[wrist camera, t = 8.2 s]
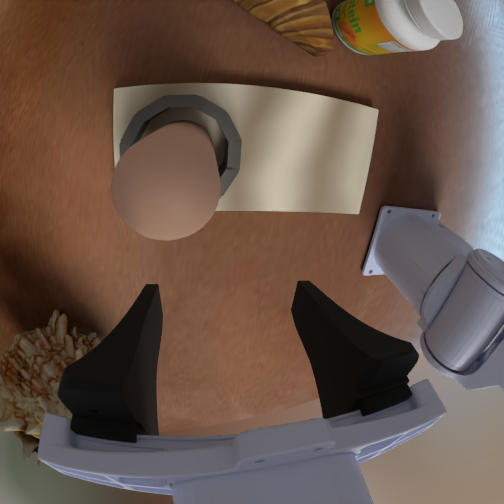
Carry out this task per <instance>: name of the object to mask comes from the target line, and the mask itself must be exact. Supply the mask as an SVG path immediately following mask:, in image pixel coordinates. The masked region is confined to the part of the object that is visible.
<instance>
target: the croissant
mask: <svg viewBox="0 0 504 504" xmlns="http://www.w3.org/2000/svg"><path fill="white" fill-rule="evenodd" d="M234 2H236V3H237V4H238V5H240V6H241V7H242V8H244V9H245V10H246V11H248V12H249V13H250V14H251V15H253V16H254V17H256V18H258V19H261V20H263V21H265V22H267V23H268V24H269V25H270V26H271V27H272V28H273V29H274V30H275V32H276V33H278V34H280V35H282V36H283V37H285V38H287V39H288V40H290V41H292V42H293V43H295V44H296V45H298V46H299V47H301V48H302V49H304V50H305V51H307V52H308V53H310V54H311V55H313V56H316V57H317V56H322V55H326V54H327V53H328V52H329V51H330V50H331V49H332V48H333V47H334V46H333V27H332V23H331V19H330V15H329V11H328V7H327V4H326V2H325V0H234Z"/></svg>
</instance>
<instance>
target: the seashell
mask: <svg viewBox="0 0 504 504" xmlns="http://www.w3.org/2000/svg"><path fill="white" fill-rule="evenodd" d="M100 342H101V340H100V339H99V338H97V332H93V333H91V334H89V335H84V334H80V333H78V332H77V329H76V327H72V328H67V317H66V315H65V313H63V314H62V315H61V316H60V313H59V310H56V309H55V310H54V312H53V315H52V316H51V317H50V320H49V323H48V326H47V327H44V328H41V329H40V328H36V329H34V330H33V331H27V332H24V333H19V334H16V335H15V336H14V342H13V343H12V345H11V346H10V348H9V349H8V351H4V352H3V355H2V357H1V358H0V428H1V429H2V430H3V431H14V433H15V436H16V437H17V438H18V439H19V440H20V441H21V442H23V460H24V461H27V460H28V459H29V457H30V455H31V453H33V452H35V451H36V452H37V454H38V448H39V442H40V436H41V430H42V425H43V420H44V416H45V413H50V414H54V415H58V416H63V417H66V418H68V419H70V420H72V413H71V412H70V411H69V410H68V409H67V408H66V406H65V405H64V404H63V403H62V402H61V400H60V399H59V397H58V394H57V392H58V388H59V384H60V380H61V377H62V374H63V372H64V369H65V367H67V366H69V365H70V364H72V363H74V362H75V361H77V360H78V359H80V358H81V357H83V356H84V355H86V354H87V353H88V352H90V351H91V350H92V349H93V348H95V347H96V346H97V345H98V344H99V343H100ZM41 463H42V461H40V460H39V459H38V465H39V466H40V465H41Z"/></svg>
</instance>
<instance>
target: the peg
mask: <svg viewBox="0 0 504 504" xmlns="http://www.w3.org/2000/svg"><path fill="white" fill-rule="evenodd" d="M111 191H112V198H113V202H114V205H115V208H116V210H117V212H118V214H119V215H120V217H121V218H122V220H123V221H124V222H125V223H126V224H127V225H128V226H129V227H130V228H131V229H133V230H134V231H136V232H137V233H139V234H141V235H143V236H146V237H148V238H152V239H156V240H176V239H181V238H184V237H187V236H189V235H191V234H193V233H195V232H196V231H198V230H199V229H201V228H202V227H203V226H204V225H205V224H206V223H207V222H208V221H209V220H210V218H211V217H212V215H213V214H214V212H215V210H216V208H217V205H218V203H219V199H220V193H221V182H220V176H219V171H218V166H217V162H216V157H215V152H214V147H213V143H212V139H211V137H210V135H209V133H208V132H207V131H206V130H205V128H203V127H202V126H201V125H199V124H198V123H195V122H193V121H188V120H178V121H174V122H171V123H169V124H167V125H165V126H164V127H162V128H160V129H158V130H157V131H155V132H153V133H151V134H150V135H148V136H146V137H145V138H143V139H141V140H140V141H138V142H137V143H135V144H133V145H132V146H131V147H130V148H129V149H127V151H126V152H125V153H124V154H123V155H122V156H121V158H120V159H119V161H118V163H117V165H116V167H115V170H114V173H113V177H112V184H111Z"/></svg>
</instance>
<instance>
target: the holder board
mask: <svg viewBox="0 0 504 504" xmlns="http://www.w3.org/2000/svg"><path fill="white" fill-rule="evenodd" d="M378 111H379V110H378V109H375V108H371V107H368V106H364V105H361V104H357V103H353V102H349V101H345V100H341V99H336V98H332V97H327V96H322V95H317V94H312V93H306V92H300V91H294V90H287V89H280V88H272V87H264V86H253V85H241V84H223V83H171V84H153V85H141V86H131V87H123V88H115V89H114V105H113V135H114V161H115V167H116V165H117V163H118V161H119V159H120V158H121V156H122V155H123V154H124V153H125V152H126V151H127V149H129V148H130V147H131V146H132V145H133V144H135V143H137V142H138V141H140V140H141V139H143V138H145V137H146V136H148V135H150V134H151V133H153V132H155V131H157V130H158V129H160V128H162V127H164V126H165V125H167V124H169V123H171V122H174V121H178V120H188V121H193V122H195V123H198V124H199V125H201V126H202V127H203V128H205V130H206V131H207V132H208V133H209V135H210V137H211V139H212V143H213V147H214V152H215V157H216V162H217V166H218V171H219V176H220V182H221V193H220V199H219V203H218V205H217V208H216V210H215V211H293V212H324V213H347V214H359V211H360V207H361V203H362V198H363V194H364V189H365V185H366V180H367V175H368V171H369V165H370V160H371V155H372V149H373V144H374V138H375V132H376V125H377V119H378Z"/></svg>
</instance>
